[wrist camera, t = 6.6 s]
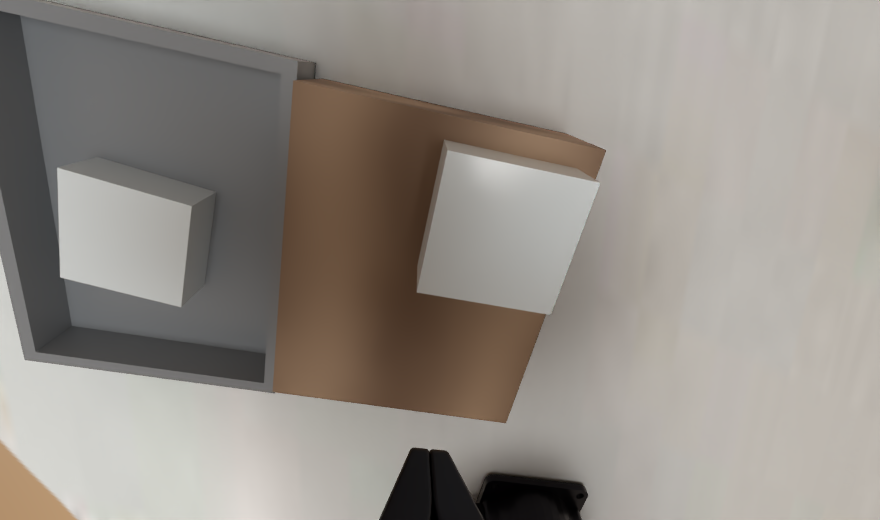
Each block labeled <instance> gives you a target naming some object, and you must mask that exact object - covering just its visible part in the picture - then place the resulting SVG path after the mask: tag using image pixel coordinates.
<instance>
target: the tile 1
mask: <svg viewBox="0 0 880 520" xmlns="http://www.w3.org/2000/svg"><path fill="white" fill-rule="evenodd" d="M57 180H58V216H59V253H60V277H61V278H65V279H69V280H73V281H77V282H81V283H85V284H89V285H93V286H97V287H101V288H105V289H109V290H113V291H117V292H121V293H125V294H129V295H133V296H137V297H142V298H146V299H150V300H154V301H158V302H162V303H166V304H170V305H174V306H178V307H182V306H183V305H184V304H185V303H186V302H187V301H188V300H189V299H190V298H191V297H192V296H193V295H194V294H195V293H196V292H197V291H198V290H199V289H200V288H201V287H202V286H204V284H205V277H206V269H207V261H208V253H209V245H210V237H211V229H212V222H213V214H214V206H215V198H216V192H214V191H211V190H208V189H204V188H201V187H198V186H194V185H191V184H187V183H184V182H181V181H177V180H174V179H170V178H167V177H164V176H160V175H157V174H153V173H150V172H147V171H143V170H140V169H137V168H133V167H130V166H126V165H123V164H120V163H116V162H113V161H109V160H106V159H103V158H99V157H96V158H92V159H89V160H85V161H81V162H77V163H73V164H69V165H65V166H62V167H58V168H57Z"/></svg>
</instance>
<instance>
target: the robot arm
mask: <svg viewBox="0 0 880 520" xmlns="http://www.w3.org/2000/svg"><path fill="white" fill-rule="evenodd" d="M587 497H588V493H587V491H586V488H585V487H584V486H583V485H579V484H570V483H562V482H553V481H545V480H536V479H528V478H519V477H511V476H502V475H489V476H488V477H486V479H485V481H484V483H483V486H482V489H481V492H480V494H479V497H478V500H477V502H474V500H473V498H472V496H471V494H470V492H469V490H468V489H467V487H466V485H465V483H464V481H463V479H462V477H461V475H460V473H459V472H458V470H457V468H456V466H455V464H454V462H453V460H452V458H451V456H450V455H449V453H448V452H447V451H444V450H434V449H432V450H430V451H428V449H423V448H412V449H411V450H410V451H409V454H408V456H407V458H406V460H405V463H404V465H403V467H402V469H401V472H400V474H399V476H398V478H397V481H396V483H395V485H394V487H393V490H392V492H391V494H390V496H389V499H388V501H387V503H386V505H385V508H384V510H383V512H382V514H381V517H380V519H379V520H582V518H581V516H580V513H579V512H580V510H581V509H582V507H583V505H584V503H585V501H586V499H587Z"/></svg>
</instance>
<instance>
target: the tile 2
mask: <svg viewBox="0 0 880 520" xmlns="http://www.w3.org/2000/svg"><path fill="white" fill-rule="evenodd" d="M599 185H600V182H598V181H597V180H595V179H593V178H592V177H590V176H588V175H587V174H585V173H584V172H582V171H580V170H579V169H577V168H573V167H568V166H564V165H559V164H554V163H550V162H545V161H541V160H536V159H531V158H527V157H522V156H517V155H513V154H508V153H504V152H499V151H494V150H490V149H485V148H480V147H476V146H471V145H467V144H462V143H457V142H453V141H448V140H444V142H443V147H442V151H441V156H440V161H439V166H438V170H437V175H436V180H435V185H434V189H433V194H432V199H431V203H430V208H429V213H428V218H427V222H426V227H425V232H424V236H423V241H422V246H421V251H420V255H419V260H418V265H417V293H423V294H429V295H435V296H441V297H447V298H453V299H459V300H465V301H470V302H476V303H482V304H488V305H494V306H500V307H506V308H512V309H518V310H524V311H530V312H536V313H541V314H547V315H551V314H552V311H553V308H554V306H555V303H556V300H557V298H558V295H559V292H560V290H561V287H562V284H563V282H564V279H565V276H566V274H567V271H568V268H569V266H570V263H571V260H572V258H573V255H574V252H575V250H576V247H577V244H578V242H579V239H580V236H581V234H582V231H583V228H584V226H585V223H586V220H587V218H588V215H589V212H590V210H591V207H592V204H593V201H594V199H595V196H596V193H597V191H598V188H599Z"/></svg>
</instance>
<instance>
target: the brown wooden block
mask: <svg viewBox="0 0 880 520" xmlns="http://www.w3.org/2000/svg"><path fill="white" fill-rule="evenodd" d="M444 140H448V141H453V142H457V143H462V144H467V145H471V146H476V147H480V148H485V149H490V150H494V151H499V152H504V153H508V154H513V155H517V156H522V157H527V158H531V159H536V160H541V161H545V162H550V163H554V164H559V165H564V166H568V167H573V168H577V169H579V170H580V171H582V172H584V173H585V174H587V175H588V176H590V177H592V178H593V179H596V177H597V174H598V171H599V169H600V166H601V163H602V160H603V158H604V155H605V152H606V150H604V149H602V148H599V147H597V146H595V145H592V144H590V143H587V142H585V141H583V140H580V139H578V138H576V137H573V136H571V135H568V134H565V133H561V132H556V131H552V130H547V129H543V128H538V127H534V126H530V125H525V124H521V123H516V122H512V121H507V120H503V119H499V118H494V117H490V116H485V115H481V114H477V113H472V112H468V111H463V110H459V109H454V108H450V107H446V106H441V105H437V104H432V103H428V102H423V101H419V100H415V99H410V98H406V97H401V96H397V95H392V94H388V93H384V92H379V91H375V90H370V89H366V88H362V87H357V86H353V85H348V84H344V83H339V82H335V81H331V80H326V79H308V80H293V90H292V105H291V120H290V135H289V150H288V165H287V180H286V196H285V211H284V226H283V241H282V256H281V271H280V286H279V301H278V316H277V331H276V346H275V362H274V377H273V392H277V393H285V394H292V395H300V396H307V397H315V398H322V399H330V400H337V401H344V402H352V403H359V404H367V405H374V406H382V407H389V408H397V409H404V410H412V411H419V412H427V413H434V414H442V415H449V416H457V417H464V418H471V419H479V420H486V421H494V422H501V423H506V421H507V419H508V416H509V413H510V411H511V408H512V405H513V402H514V400H515V397H516V394H517V392H518V389H519V386H520V383H521V381H522V378H523V375H524V372H525V370H526V367H527V364H528V362H529V359H530V356H531V353H532V351H533V348H534V345H535V343H536V340H537V337H538V334H539V332H540V329H541V326H542V324H543V321H544V318H545V315H546V314H541V313H536V312H530V311H524V310H518V309H512V308H506V307H500V306H494V305H488V304H482V303H476V302H470V301H465V300H459V299H453V298H447V297H441V296H435V295H429V294H423V293H417V265H418V260H419V255H420V251H421V246H422V241H423V236H424V232H425V227H426V222H427V218H428V213H429V208H430V203H431V199H432V194H433V189H434V185H435V180H436V175H437V170H438V166H439V161H440V156H441V151H442V147H443V142H444Z"/></svg>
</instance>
